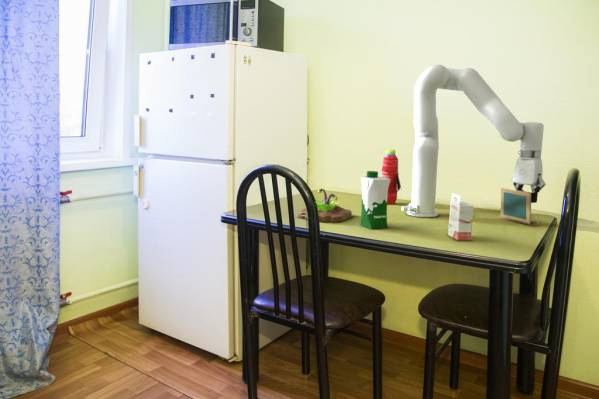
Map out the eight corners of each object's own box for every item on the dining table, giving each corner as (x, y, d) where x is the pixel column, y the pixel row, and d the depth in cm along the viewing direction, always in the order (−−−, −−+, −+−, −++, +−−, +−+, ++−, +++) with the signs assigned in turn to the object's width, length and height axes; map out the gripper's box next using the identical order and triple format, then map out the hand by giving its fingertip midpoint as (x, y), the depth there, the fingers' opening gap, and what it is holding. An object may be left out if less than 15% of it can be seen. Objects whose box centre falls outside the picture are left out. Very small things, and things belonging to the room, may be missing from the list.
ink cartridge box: (471, 240, 165) (475, 196, 162) (457, 241, 164) (460, 196, 162) (461, 234, 173) (464, 192, 171) (447, 234, 173) (450, 192, 170)
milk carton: (376, 223, 190) (378, 170, 187) (391, 227, 182) (393, 173, 179) (356, 225, 186) (358, 171, 183) (371, 230, 178) (373, 174, 175)
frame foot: (532, 226, 188) (533, 221, 188) (502, 218, 202) (502, 214, 201) (537, 225, 189) (537, 221, 189) (506, 218, 203) (506, 213, 202)
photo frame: (529, 193, 186) (539, 191, 188) (500, 188, 198) (510, 186, 200) (529, 223, 188) (539, 221, 190) (500, 216, 201) (510, 214, 203)
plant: (315, 210, 214) (316, 184, 212) (357, 215, 204) (358, 188, 202) (291, 218, 197) (291, 189, 195) (335, 224, 187) (336, 194, 185)
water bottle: (406, 205, 229) (409, 150, 225) (394, 206, 224) (396, 150, 220) (387, 201, 239) (389, 148, 234) (375, 202, 234) (377, 149, 230)
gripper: (505, 153, 199) (501, 198, 202) (541, 157, 183) (537, 205, 186) (519, 153, 201) (515, 197, 205) (556, 156, 186) (551, 204, 189)
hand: (526, 200), depth 195 cm, fingers closed on photo frame, 6 cm apart
